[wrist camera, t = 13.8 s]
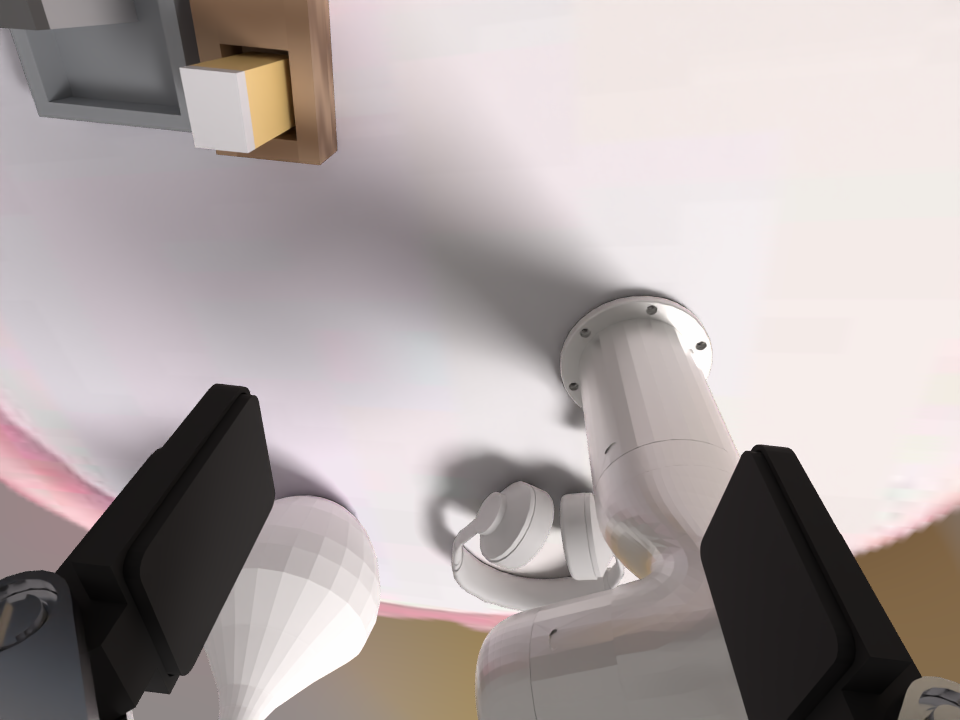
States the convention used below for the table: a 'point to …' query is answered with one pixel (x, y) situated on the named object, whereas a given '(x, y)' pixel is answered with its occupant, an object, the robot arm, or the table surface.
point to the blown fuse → (64, 13)
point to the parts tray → (114, 68)
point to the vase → (294, 607)
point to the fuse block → (306, 39)
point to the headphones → (533, 549)
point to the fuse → (239, 100)
